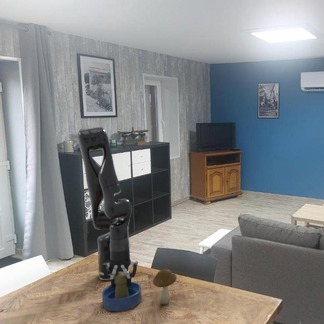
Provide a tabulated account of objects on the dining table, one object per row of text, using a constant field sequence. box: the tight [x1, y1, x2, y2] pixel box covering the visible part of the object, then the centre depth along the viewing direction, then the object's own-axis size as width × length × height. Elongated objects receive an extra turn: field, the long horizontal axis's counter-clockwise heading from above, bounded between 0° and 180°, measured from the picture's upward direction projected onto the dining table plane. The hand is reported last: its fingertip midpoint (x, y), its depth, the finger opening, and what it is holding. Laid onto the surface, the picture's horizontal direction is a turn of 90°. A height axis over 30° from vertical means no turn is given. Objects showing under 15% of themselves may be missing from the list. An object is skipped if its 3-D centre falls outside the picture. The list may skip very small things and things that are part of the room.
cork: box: [114, 274, 129, 299], centre depth 141 cm, size 6×6×11 cm
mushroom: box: [152, 268, 178, 306], centre depth 141 cm, size 9×11×15 cm
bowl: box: [101, 281, 143, 312], centre depth 142 cm, size 15×15×6 cm
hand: (121, 286), depth 141 cm, fingers closed on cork, 5 cm apart
